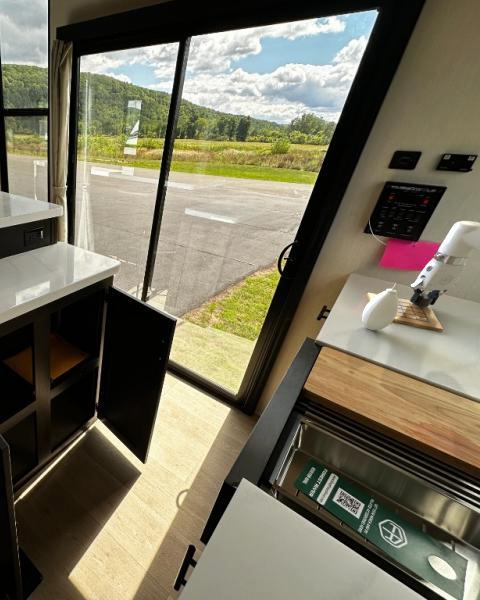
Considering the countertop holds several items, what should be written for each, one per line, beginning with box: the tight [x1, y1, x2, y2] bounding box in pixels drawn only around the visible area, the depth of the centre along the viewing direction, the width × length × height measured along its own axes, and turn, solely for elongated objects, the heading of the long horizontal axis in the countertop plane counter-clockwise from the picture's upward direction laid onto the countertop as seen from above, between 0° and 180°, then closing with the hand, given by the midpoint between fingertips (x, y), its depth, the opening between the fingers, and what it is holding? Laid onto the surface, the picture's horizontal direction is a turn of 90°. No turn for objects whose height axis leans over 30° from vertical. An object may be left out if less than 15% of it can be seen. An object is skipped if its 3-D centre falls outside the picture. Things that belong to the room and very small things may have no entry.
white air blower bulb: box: [361, 282, 399, 331], centre depth 104 cm, size 8×8×18 cm
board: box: [366, 292, 444, 333], centre depth 116 cm, size 18×18×1 cm
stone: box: [417, 293, 434, 307], centre depth 117 cm, size 4×4×3 cm
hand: (421, 302), depth 117 cm, fingers closed on stone, 4 cm apart
